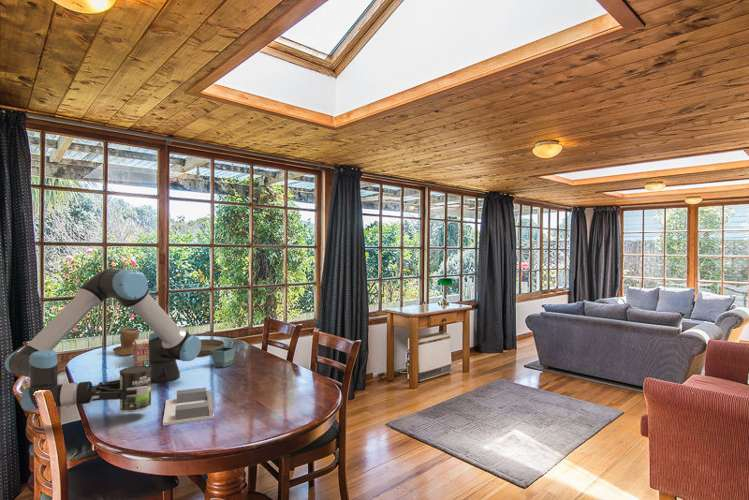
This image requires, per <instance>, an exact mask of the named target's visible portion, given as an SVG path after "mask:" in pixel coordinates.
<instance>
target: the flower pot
mask: <svg viewBox="0 0 749 500" xmlns="http://www.w3.org/2000/svg"><path fill="white" fill-rule="evenodd" d="M211 351H212V355H211V356H212V361H213V363H214V365H215V366H216V367H217V368H218V367H219V368H225V367H228V366H231V364H232V363H233V361H234V359H235V354H236V353H235V352H236V348H235V347H227V346H224V347H220V348H217V349H214V350H211Z"/></svg>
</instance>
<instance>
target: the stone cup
mask: <svg viewBox="0 0 749 500" xmlns="http://www.w3.org/2000/svg"><path fill="white" fill-rule="evenodd" d="M139 336H140V330H139V328H138V329H136V328H133V327H124V328H122V329H121V331H120V335H119V339H120V346H115V347H114V348H112V351H113V352H115V354H117V355H119V356H131V355H133V342H134V340H137V339H139Z"/></svg>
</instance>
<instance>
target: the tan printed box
mask: <svg viewBox="0 0 749 500" xmlns="http://www.w3.org/2000/svg"><path fill="white" fill-rule="evenodd" d="M148 341H149V338H138V339H137V340H134V342H133V354H132V359H134V360H133V362H134V361H135V362H134V364H135V363H136V364H135V366H146V365H149V342H148Z"/></svg>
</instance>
